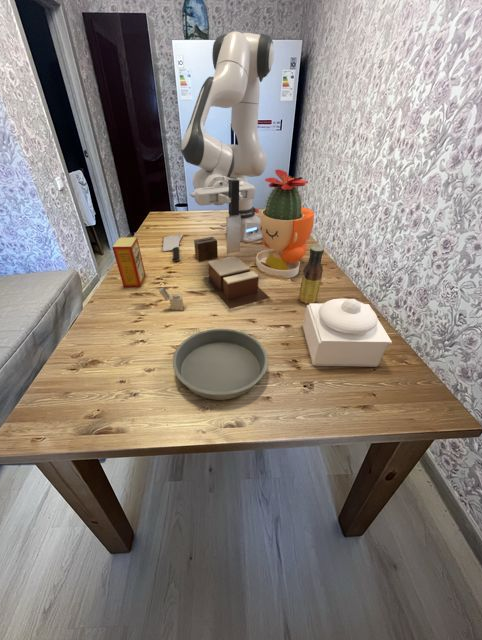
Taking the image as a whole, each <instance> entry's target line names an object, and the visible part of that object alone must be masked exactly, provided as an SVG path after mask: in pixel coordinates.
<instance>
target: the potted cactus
mask: <svg viewBox="0 0 482 640" xmlns="http://www.w3.org/2000/svg"><path fill="white" fill-rule="evenodd" d="M274 173H275V175H276V176H277V177H278V178H279V179H280V180H281V181H280V180H278V179H277V178H276V177H268V178H265V179H264V181H265V182H267V183H269V184H268V187H269V188H271V189H270V192H268V195H269V196H268V197H267V199H266V200H265V201H264V202H265V205H264V209H263V210H262V211H261V215H260V219H261V220H260V230H261V233H262V237H263V238H262V239H263V240H262V245H263V246H264V247H265V248H267V249H265V250H261V251H260V252H258V253H257V254H256V257H255V264H256V267H257V268H258V269H259V270H260V271H263V272H264V273H266V274H269V275H272V276H277V277H283V279H292V278H294V277H296V276H297V275H298V274H299V270H300V266H301V265H300V264H301V262H300V261H301V260H302V259H303V258H304V256H305V254H306V252H307V250H308V249H307V248H308V245H307V242H308V240H309V238H310V237H311V235H312V231H313V228H314V223H315V214H314V213H315V212H314V211H313V210H312V209H311V208H307V207H304V205H303V203H304V200H303V198H302V197H301V196H302V193H301V190H299V188H298V187H305V186H306V184H308V183H309V181H307V180H304V177H302V176H299V177H296V178H295V177H294V176H293V177H291V175H288V172H287V171H285V170H283V169H279V168H278V169H275V170H274ZM261 262H262V263H261ZM263 263H264V264H263ZM266 265H267V266H266Z"/></svg>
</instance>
